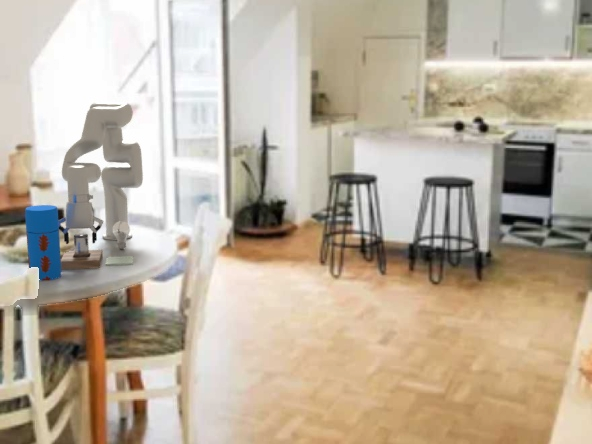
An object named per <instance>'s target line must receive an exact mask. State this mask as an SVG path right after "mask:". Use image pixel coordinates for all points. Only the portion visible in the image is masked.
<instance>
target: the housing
mask: <svg viewBox="0 0 592 444" xmlns="http://www.w3.org/2000/svg"><path fill="white" fill-rule="evenodd" d="M68 251H69V252H66V253H65V252H63V255H62V257H61V270H79V269H80V270H81V269H98V268H101V265H102V264H101V263H102V260H103V256H104V255H103V249H89V257H79V258H75V251H74V250H68Z"/></svg>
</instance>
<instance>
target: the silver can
mask: <svg viewBox="0 0 592 444" xmlns="http://www.w3.org/2000/svg"><path fill="white" fill-rule="evenodd" d="M73 245H74V246H73V247H74V249H73V251H75V258H79V257H89V250H90V248H89V234H88V233H76V234H73Z"/></svg>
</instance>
